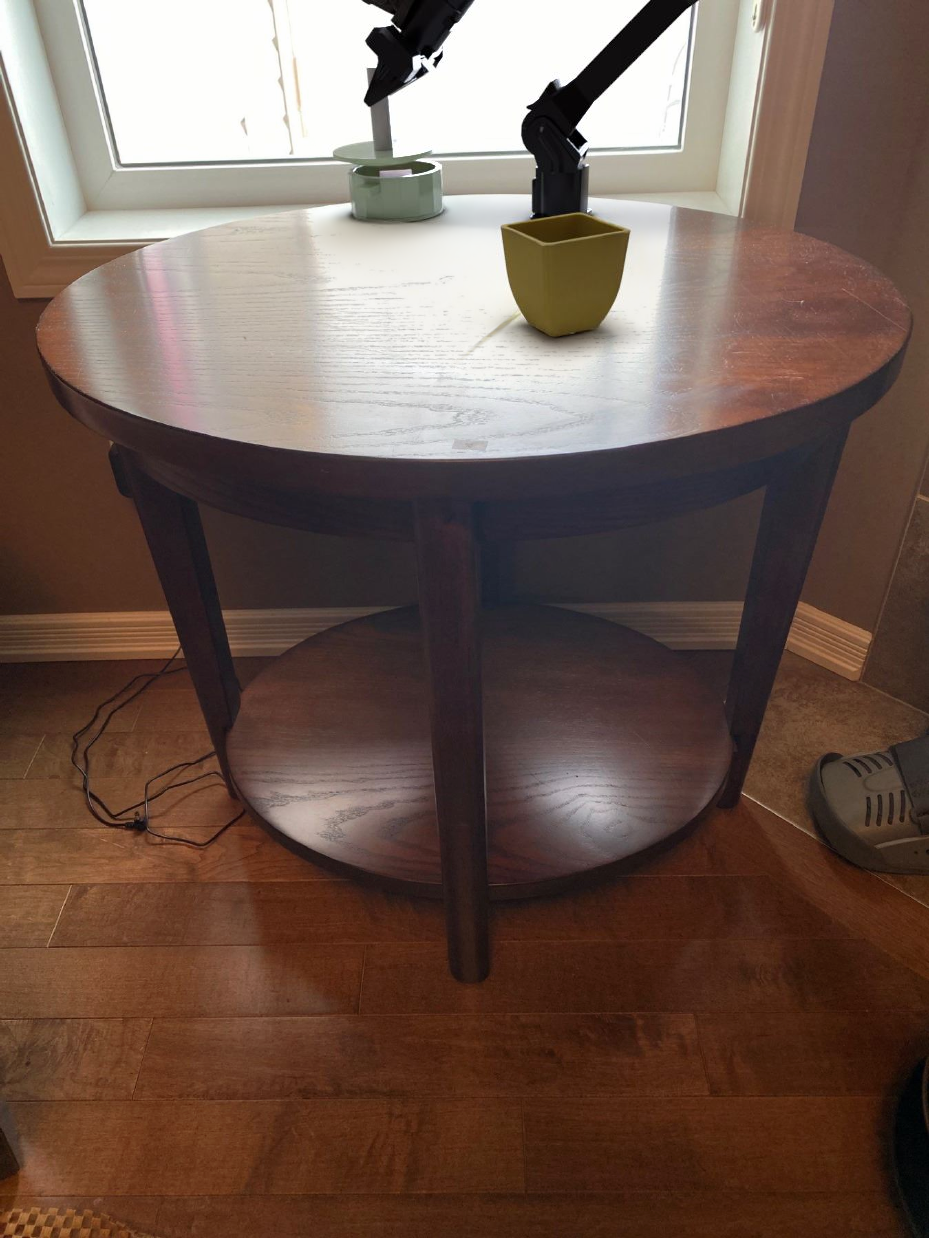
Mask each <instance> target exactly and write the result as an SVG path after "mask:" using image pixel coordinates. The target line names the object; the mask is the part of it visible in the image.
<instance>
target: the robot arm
mask: <svg viewBox="0 0 929 1238" xmlns="http://www.w3.org/2000/svg"><path fill="white" fill-rule="evenodd" d="M361 1H362V2H363V3H364V4H366V5H368V6H370V5H372V6H374V7H375V8H378V9H380V10H382V11H384V12H385V13H388V14H389V15H392V17H391V18H390V22H391V23H392V24H381V25H377V26H374V27H373V28H372V29H371V31H370V33H369V34H368V35H367V37H366V39H364V42H365V44H366V46H367V47H368V48H369V50H371V51H372V52H373V53H374V55H376V57H377V63H376V65H377V66H376V69H375V72H374V74H373V77H372V80H371V82H370V85H369V87H368V86H367V90H366V93H365V95H364V98H363V103H364V104H365V105H366V106H367V107H368V108H370V107H371V106H373V105H374V104H376V103H378V102H379V101H381V100H383V99H384V98H386V97H388V96H389V97H391V96H393V95H394V94H396V93H398V92H400V91H401V90H403V89H404V88H406V87H408V86H409V85H411V84H413V83H415V82H416V81H418V80H420V79H421V78H423V77H425V76H427V75H428V74H429V73H430V70H429V68H428V67H427V66H426V65H425V63H423V62H424V60H425V59H426V60H427V61H430V60H432V59H433V60H434V61H433V63H432V66H433V67H434V68H435V69H437V68H439V67H441V66H442V65H443V64H444V62H445V61H446V60H447V58H448V57H449V55H450V43H449V42H448V39H449V38H450V36H451V35H452V34H453V32H455V30H457V29H460V28H461V26H462V25H463V24H464V21H465V20H464V18H465V17H466V15H467V14H468V12H469V11H470V10H471V8H473V6H474V4H475V3H476V2H477V0H361ZM699 1H700V0H648V2H647V3H646V4H644V6H643V7H642V8H641V9H640V10H639V11H638V12H637V13H636V14H635V15H634V16H633V17H632V18H631V20H629V21H628V22H627V23H626V24H625V26H623V28H621V30H619V32H618V33H617V34H616V35H615V36H614V37H613V38H612V39H611V40H610V41H609V42H608V43H607V44H606V45H605V46H604V47H603V49H602V50H600V51H599V53H597V55H595V57H594V58H593V59H592V60H591V61H590V62H589V63H588V64H587V65H586V66H585V67H584V68H583V69H582V70H581V71H580V72H579V73H578V74H577V76H575V77H574V78H572V79H571V80H570V81H568V82H567V83H564V82H563V79H562V78H561V76H560V75H557V76H556V77H554V78H553V79H552V80H550V82H549V83H548V84H547V85H546V86H545V88H544V90H543V91H542V93H541V94H540V96H538V97H536V98H534V99H533V100H532V101H531V102H529V103H528V104H527V105H526V106H525V108H526V110H529V112H527V113H526V115H525V116H524V118H523V119H522V122H521V124H520V125H521V126H520V131H521V132H520V137H521V142H522V144H523V145H524V148H525V149H526V150H527V151H528V152H529V153H530V154H531V155H532V156H533V158H534V160H535V164H536V166H535V177H534V178H533V179H531V212H532V215H530V216H529V217H530V219H529V220H535V219H541V218H548V217H554V216H560V215H566V214H572V213H584V214H588V215H591V214H592V213H593V211H592V210H593V209H592V208H589V207H588V206H589V182H590V181H589V180H590V164H588V163H586V164H585V163H583V161H584V160H585V159H586V157H587V154H588V151H589V149H590V146H591V143H590V141H589V140H588V139H587V138H586V137H585V135H583V133H582V132H581V130H579V129H578V127H579V126H580V124H581V123H582V122H583V120H584V119H585V117H586V116H587V115H588V113H589V112H590V110H591V108H592V107H593V106H594V105H595V103H596V102H597V100H598V99H599V98H600V97H601V96H602V95H603V94H604V93H605V92H606V91H607V90H608V89H609V88H610V87H611V86H612V85H613V84H614V83H615V82H616V81H617V80H618V79H619V78H620V77H621V76H622V75H623V74H624V73H625V72H626V71H627V70H628V69H629V68H630V67H631V66H632V65H633V64H634V63H635V62H636V61H637V60H638V59H639V58H640V57H641V56H642V55H643V54H644V53H645V52H646V51H647V50H648V49H649V48H650V47H651V46H652V45H653V44H654V43H655V42H656V41H657V40H658V39H659V38H660V36H661V35H663V34H664V33H665V32H666V31H667V30H668V28H670V27H671V26H672V24H673V23H675V22H676V21H677V20H678V19H679V17H681V16H682V15H683V13H684V12H685V11H686V10H688V9H689V8H690V7H692V6H693V5H695V4H697V3H698V2H699Z"/></svg>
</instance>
